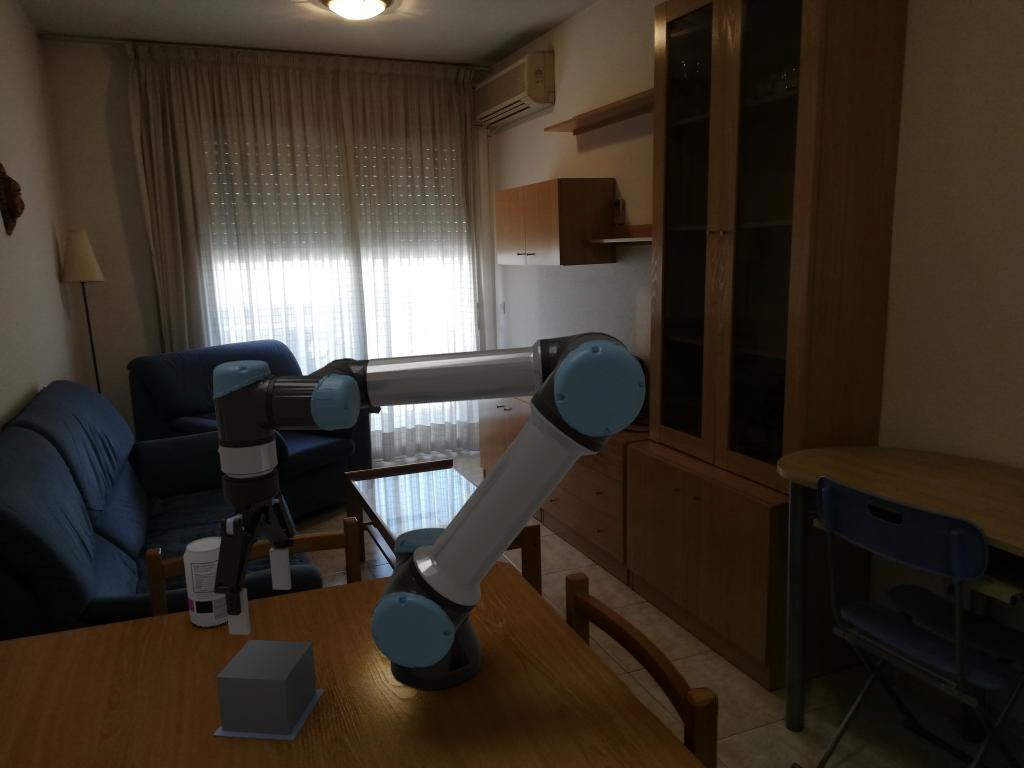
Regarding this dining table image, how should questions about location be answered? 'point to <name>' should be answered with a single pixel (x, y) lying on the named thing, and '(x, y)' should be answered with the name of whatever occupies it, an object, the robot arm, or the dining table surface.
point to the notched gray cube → (266, 687)
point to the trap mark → (276, 736)
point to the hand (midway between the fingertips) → (262, 609)
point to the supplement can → (204, 583)
